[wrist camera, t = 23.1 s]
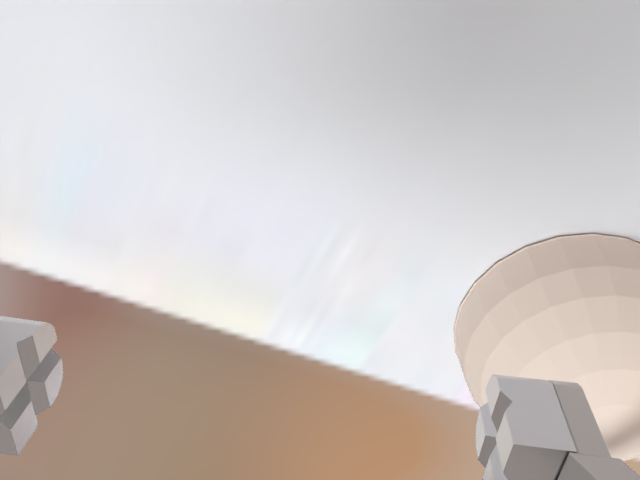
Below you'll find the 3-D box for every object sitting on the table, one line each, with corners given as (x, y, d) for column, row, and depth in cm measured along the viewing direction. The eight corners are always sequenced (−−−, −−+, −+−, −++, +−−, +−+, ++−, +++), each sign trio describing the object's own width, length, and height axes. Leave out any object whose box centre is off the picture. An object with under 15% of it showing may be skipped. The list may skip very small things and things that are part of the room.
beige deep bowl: (741, 332, 50) (903, 526, 35) (541, 439, 59) (598, 631, 43) (606, 181, 44) (728, 333, 29) (405, 325, 53) (416, 501, 37)
